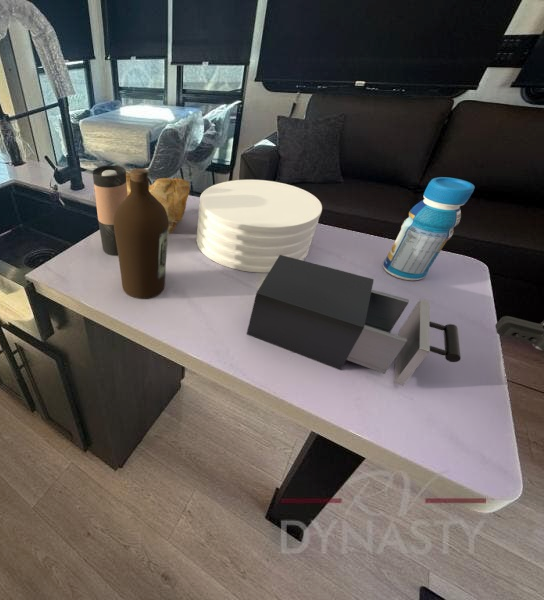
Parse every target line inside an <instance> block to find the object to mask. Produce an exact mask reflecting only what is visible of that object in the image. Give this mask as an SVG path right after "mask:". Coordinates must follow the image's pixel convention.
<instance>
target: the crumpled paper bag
mask: <svg viewBox="0 0 544 600" xmlns="http://www.w3.org/2000/svg"><path fill="white" fill-rule="evenodd" d="M130 179H131V176H130V172H127V171H126V181H127V194H128V195H129V194H130V192H131V189H130ZM190 191H191V189H190V183H189V182H188V181H187V180H185V179H184V178H181V177H176V178H168V177H161V178H157V179H155V181H154V182H153V183H151V184H149V192H150V193H151V194H152V195H153V196H154V197H155V198H156V199H157V200H158V201H159V202H160V203H161V204H162V205H163V207H164V208H165V210H166V213H167V216H168V221H169V227H168V234H171V233H173V232H174V230H175V228H176V227H177V224H178V222H182V220H183V217H184V214H185V211H186V208H187V201H188V197H189V196H190V195H189V194H190Z"/></svg>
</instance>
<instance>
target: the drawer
mask: <svg viewBox="0 0 544 600" xmlns="http://www.w3.org/2000/svg"><path fill="white" fill-rule="evenodd" d="M409 302H410V299H407V298H404V297H402V296H401V297H400V296H398V295H397V296H396V295H392V294H389V293H386V292H383V291H378V290H375V289H372V291H371V296H370V301H369V306H368V311H367V316H366V321H365V326H364V329H363V331H362V332H361V334H360V336H359V338H358V340H357V342H356V343H355V345H354V347H353V349H352V351H351V352H350V354H349V356H348V358H347V360H346V361H348V362H350V363H351V362H352V363H354V364H357V365H360V366H362V367H365V368H367V369H370V370H373V371H375V372H378V373H381V374H386V372H387V371H388V370H389V368H390V367H391V365H392V364H393V363H394V361H395V367H394V376H393V383H394V384H396V385H398V386H401V387H404V385H405V384H406V383H407V381H408V380H409V379H410V378H411V376H412V375H413V374H414V373H415V372H416V370H417V369H418V367H420V365H421V364H422V362H423V361H424V360H425V358H426V357H427V356H428V355H429V353H433V354H437V355H440V356H442V357H443V356H444V358H445V361H448V362H449V363H459V362H460V361H461V347H460V339H459V338H460V337H459V330H458V326H457V325H456V324H452V323H447V324H445V325H444V324H440V323H437V322H433V321H430V301H429V300H428V299H427V300H426V299H423V298H419V300H418V302H417V304H416V305H415V306H414V307H413V309H412V311H411V312H410V314H409V315H408V317H407V318H406V319H405V322H404V323H403V325H402V326H401V328H400V329H399V331H398V332H397V334H394V333H392V330H393V328H394V327H395V325H396V323H397V322H398V320H399V319H400V317H401V316H402V314H403V312H404V311H405V310H406V308H407V306H408V305H409V304H410V303H409ZM430 328H433V329H436V330H439V331H443V344H444V345H443V346H444V349H442V348H439V347H436V346H432V345H431V344H430V343H431V340H430V339H431V337H430V336H431V335H430V333H431V331H430Z"/></svg>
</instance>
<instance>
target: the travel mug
mask: <svg viewBox="0 0 544 600" xmlns="http://www.w3.org/2000/svg"><path fill="white" fill-rule="evenodd" d="M126 172H127V171H126V168H125V167H124V166H121V165H114V164H113V165H112V164H111V165H110V164H109V165H102V166H98V167H96V168H94V169H93V170H92V181H93V188H94V196H95V206H96V212H97V221H98V227H99V234H100V239H101V245H102V250H103V252H104V253H105V254H106V255H110V256H118V250H117V244H116V238H115V232H114V216H115V212H116V210H117V208H118V207H119V205H120V204H121V203H122V202H123V201H124V200H125V199H126V197H127V196H128V194H127V181H126Z"/></svg>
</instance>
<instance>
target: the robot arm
mask: <svg viewBox="0 0 544 600" xmlns="http://www.w3.org/2000/svg"><path fill="white" fill-rule="evenodd" d="M494 327H495V331H496V334H498V335H500V336H503V337H507V338H509V339H512V340H516V341H519V342H523V343H527V344H530V345H532V347H533V348H534V349H536V350H539V351H542V352H544V320H542V322H540V323H538V322H533V321H529V320H525V319H521V318H518V317H514V316H509V315H504V316H501V318H500V319H499V320H498V321H497V322H496V323H495V326H494ZM542 358H543V359H544V353H543V354H542Z"/></svg>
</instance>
